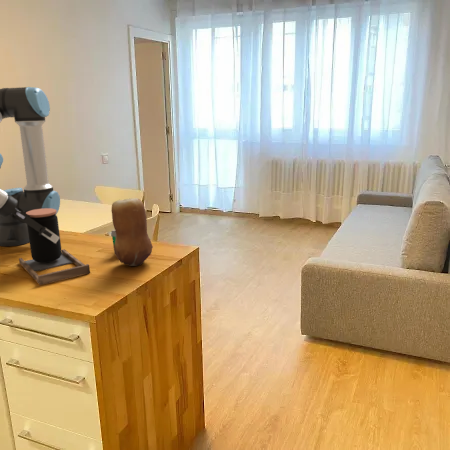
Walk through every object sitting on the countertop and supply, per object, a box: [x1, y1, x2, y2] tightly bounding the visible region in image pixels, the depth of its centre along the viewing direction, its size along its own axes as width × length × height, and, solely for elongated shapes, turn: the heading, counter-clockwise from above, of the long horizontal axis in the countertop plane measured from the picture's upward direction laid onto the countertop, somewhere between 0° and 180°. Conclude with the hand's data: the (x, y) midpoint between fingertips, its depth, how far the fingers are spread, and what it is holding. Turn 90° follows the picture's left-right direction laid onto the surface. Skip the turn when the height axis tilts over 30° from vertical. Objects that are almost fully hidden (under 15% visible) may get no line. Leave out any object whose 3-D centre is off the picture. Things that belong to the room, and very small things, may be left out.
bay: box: [18, 249, 91, 286], centre depth 162 cm, size 28×17×3 cm, turn 37°
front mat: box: [24, 254, 74, 272], centre depth 168 cm, size 13×15×1 cm
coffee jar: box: [26, 208, 63, 262], centre depth 165 cm, size 11×11×18 cm
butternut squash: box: [110, 197, 154, 267], centre depth 160 cm, size 14×13×25 cm
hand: (52, 237), depth 167 cm, fingers closed on coffee jar, 11 cm apart
